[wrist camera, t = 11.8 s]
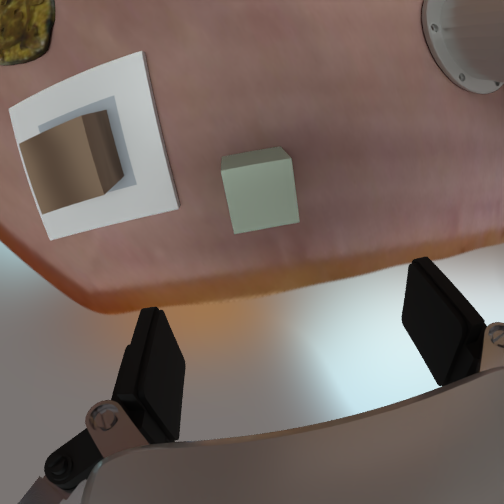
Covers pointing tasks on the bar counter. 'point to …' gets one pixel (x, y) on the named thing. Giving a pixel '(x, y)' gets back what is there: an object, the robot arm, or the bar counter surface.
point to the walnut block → (72, 161)
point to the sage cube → (260, 189)
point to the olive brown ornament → (24, 29)
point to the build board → (125, 136)
